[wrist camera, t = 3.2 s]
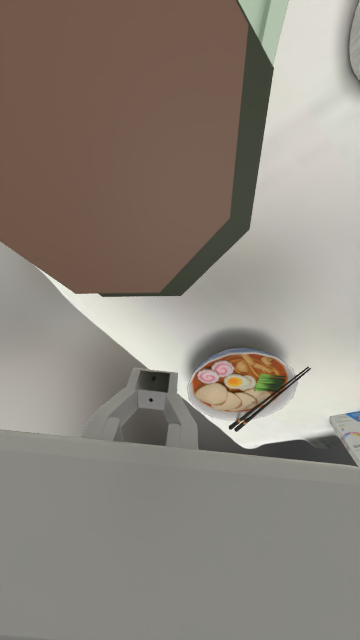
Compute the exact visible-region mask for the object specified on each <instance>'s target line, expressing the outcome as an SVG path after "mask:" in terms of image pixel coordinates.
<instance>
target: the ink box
mask: <svg viewBox="0 0 360 640" xmlns="http://www.w3.org/2000/svg"><path fill="white" fill-rule="evenodd" d="M330 422H331V425H332V427H333V429H334V430H335V432H336V433H337V435H338V436H339V438H340V439H341V441H342V442H343V444H344V446H345V447H346V449H347V450H348V452H349V453H350V455H351V456H352V458H353V459H354V461H355V462H356V464H357V465H358V467H359V468H360V412H354V413H348V414H343V415H337V416H331V417H330Z"/></svg>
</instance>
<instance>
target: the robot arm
mask: <svg viewBox="0 0 360 640" xmlns="http://www.w3.org/2000/svg"><path fill="white" fill-rule="evenodd" d="M177 382H178V373H176V372H168V371H157V370H156V371H155V370H148V369H140V368H133V370H132V373H131V375H130V378H129V381H128V384H127V387H126V388H124V389H122V390H121V391H120V392H118V393H117V394H116V395H115V396H114V397H113V398H111V399H110V400H109V401H108V402H106V403H105V404H104V405H103V406H102V407H100V408H99V409H98V410H97V411H96V412H94V413H93V414H92V416H91V418H90V420H89V422H88V424H87V426H86V428H85V430H84V432H83V435H82V436H81V438H78V437H69V436H59V435H49V434H39V433H30V432H19V431H10V430H0V640H360V468H358V467H355V466H350V465H339V464H329V463H320V462H311V461H301V460H290V459H282V458H272V457H261V456H251V455H242V454H233V453H223V452H213V451H204V450H198V433H197V424H196V423H195V421H194V419H193V418H192V416H191V414H190V413H189V411H188V409H187V407H186V406H185V404H184V402H183V401H182V399H181V397H180V395H179V394H177ZM138 407H139V408H151V409H158V410H164V413H165V416H166V418H167V421H168V423H169V428H168V435H167V441H166V447H165V446H156V445H146V444H137V443H136V444H135V443H126V442H122V434H121V427H122V426H123V424H124V423H125V422H126V421H127V420H128V419H129V418H130V416H131V415H132V414H133V413H134V412H135V410H137V408H138Z"/></svg>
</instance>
